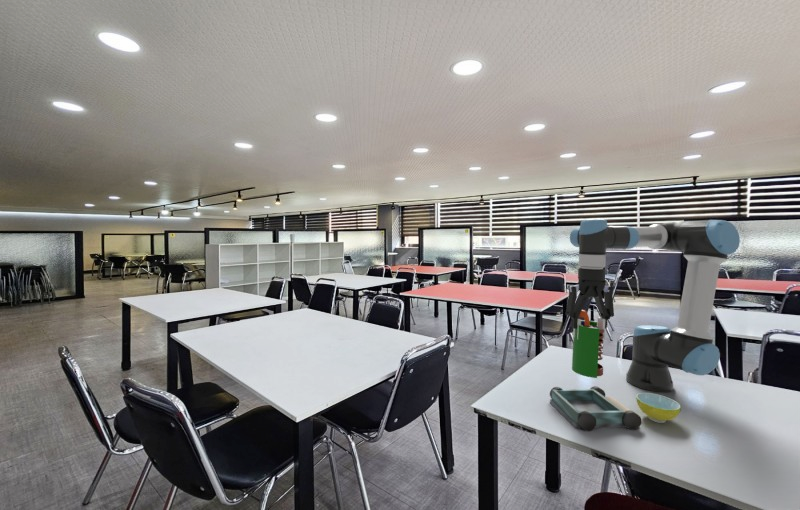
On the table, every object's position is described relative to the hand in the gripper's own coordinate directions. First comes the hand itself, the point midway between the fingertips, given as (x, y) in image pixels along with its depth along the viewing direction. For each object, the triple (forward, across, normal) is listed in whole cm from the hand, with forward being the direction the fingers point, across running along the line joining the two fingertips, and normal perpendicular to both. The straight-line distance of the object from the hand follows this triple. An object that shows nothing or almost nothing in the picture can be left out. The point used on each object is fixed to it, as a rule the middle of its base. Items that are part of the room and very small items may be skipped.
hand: (588, 338), depth 112 cm
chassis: (+25, -2, 0) cm, 25 cm away
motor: (+11, 0, 0) cm, 11 cm away
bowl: (+26, -21, +4) cm, 33 cm away
